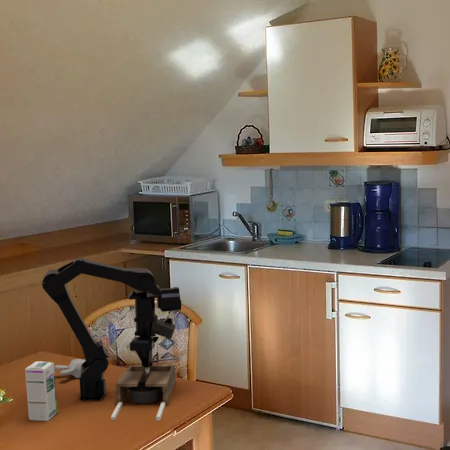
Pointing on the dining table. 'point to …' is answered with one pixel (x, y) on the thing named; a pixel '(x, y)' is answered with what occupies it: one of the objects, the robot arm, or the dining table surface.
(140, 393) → the smart speaker
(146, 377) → the slider
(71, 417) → the dining table surface
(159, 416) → the rails
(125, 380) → the tunnel
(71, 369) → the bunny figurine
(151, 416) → the dining table surface
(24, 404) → the dining table surface
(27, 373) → the syrup box
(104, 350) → the robot arm
